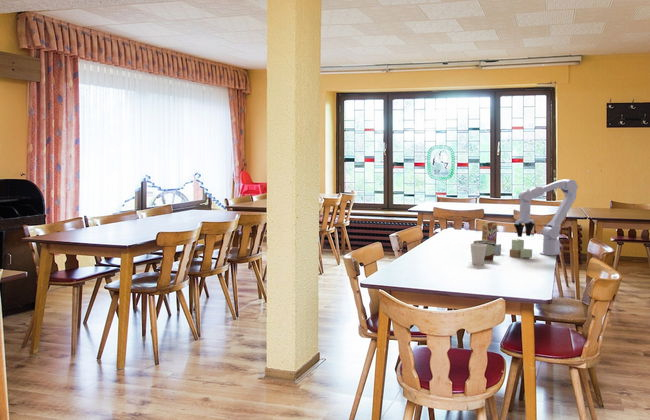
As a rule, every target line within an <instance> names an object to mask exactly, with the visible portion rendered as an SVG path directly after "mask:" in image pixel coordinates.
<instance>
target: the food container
mask: <svg viewBox="0 0 650 420" xmlns="http://www.w3.org/2000/svg"><path fill="white" fill-rule="evenodd" d="M473 243H480V244H486V245H487V246H486V251H485V258H484V260H485V261H488V262H494V256H495V254H494V251H495V246H496V244H497V242H496V243H495V242H494V241H484V240H482V239H481V240H479V239H478V240H474V241H473ZM473 243H472V244H473ZM485 261H484V262H485Z"/></svg>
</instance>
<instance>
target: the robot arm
mask: <svg viewBox="0 0 650 420" xmlns="http://www.w3.org/2000/svg"><path fill="white" fill-rule="evenodd" d="M578 188H579V187H578V183H577V182H576V180H574V179H566V178H563V179H559V180H556V181H553V182H551V183H548V184H546V185H544V186H541V185H535V186H534V187H532V188H527V189H526V190H522V191H520V193H519V194H518V196H517V197H518V199H519V216H518V217H519V219H517V220H514V224H513V225H514V228H515V230H516V234H517V237H519V238H523V231H524V228H525V236H527V237H530V236H531V234H532V232H533V228H534V227H535V223H534V221H535V219H531V206H532V205H531V202H532V200H534V199H537V198H539V197H542V196H544V195H545V193H547V192H550V191H553V190H556V189H560V190H561V191H562V193H563V195H564V198H563V200H562V201H561V203H560V205H559V206H558V209H557V210H556V212H555V214H554V216H553V217H552V219H551V220H550V221H549V222H548V223H546V225H545V226H543V228H542V229H541V234H542V236H543V242H542V252H539V254H540V255H544V256H557V255H562V253H561V241H560V240H559V239H558V237H559V236H560V231H561V229H562V228H561V225H562V223H563V221H564V220H565V218H566V216H567V214H568V213H569V211H570V210H571V208H572V206H573V204H574V203H575V200H576V199H577V191H578Z"/></svg>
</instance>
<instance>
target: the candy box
mask: <svg viewBox="0 0 650 420" xmlns="http://www.w3.org/2000/svg"><path fill="white" fill-rule="evenodd" d="M497 232H498V222H497V221H484V222H482V231H481V233H482V235H481V240H484V241H494V242H495V243H496V244H497V239H498V238H497Z"/></svg>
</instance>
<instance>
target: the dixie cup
mask: <svg viewBox="0 0 650 420" xmlns="http://www.w3.org/2000/svg"><path fill="white" fill-rule="evenodd" d="M469 246H470V253H471V263H473V265H478V264H479V265H480V264H481V265H484V264H485V261H484V258H485V251H486V246H487V245H486V244H480V243H470V245H469Z"/></svg>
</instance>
